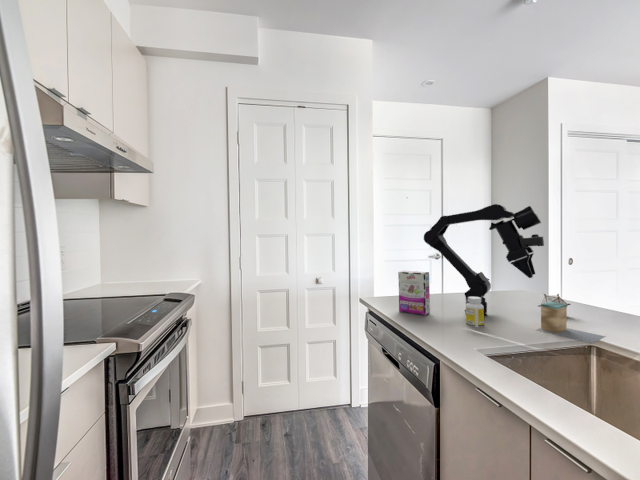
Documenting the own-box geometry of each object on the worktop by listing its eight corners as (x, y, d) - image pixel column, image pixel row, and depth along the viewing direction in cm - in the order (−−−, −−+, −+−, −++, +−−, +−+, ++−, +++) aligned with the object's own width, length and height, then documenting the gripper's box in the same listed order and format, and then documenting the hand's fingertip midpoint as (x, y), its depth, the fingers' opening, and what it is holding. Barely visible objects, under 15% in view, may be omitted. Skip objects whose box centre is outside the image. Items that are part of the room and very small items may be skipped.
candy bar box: (430, 313, 120) (430, 271, 120) (425, 316, 116) (425, 273, 116) (403, 309, 127) (403, 270, 127) (398, 311, 124) (397, 271, 123)
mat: (535, 331, 96) (535, 329, 96) (550, 326, 101) (550, 324, 101) (592, 345, 84) (592, 343, 84) (605, 338, 89) (605, 336, 89)
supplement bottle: (482, 324, 104) (482, 296, 104) (485, 329, 99) (485, 299, 99) (465, 323, 106) (464, 295, 106) (467, 328, 101) (466, 298, 101)
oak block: (541, 329, 96) (540, 304, 96) (550, 326, 100) (549, 301, 99) (557, 333, 93) (557, 307, 92) (566, 329, 96) (566, 304, 95)
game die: (554, 324, 115) (563, 301, 117) (569, 322, 107) (579, 298, 109) (530, 311, 117) (539, 289, 119) (543, 309, 109) (553, 285, 111)
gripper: (531, 225, 98) (558, 270, 94) (536, 225, 113) (559, 264, 109) (496, 240, 105) (519, 282, 101) (505, 238, 119) (526, 275, 115)
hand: (532, 276), depth 106 cm, fingers open, 9 cm apart
